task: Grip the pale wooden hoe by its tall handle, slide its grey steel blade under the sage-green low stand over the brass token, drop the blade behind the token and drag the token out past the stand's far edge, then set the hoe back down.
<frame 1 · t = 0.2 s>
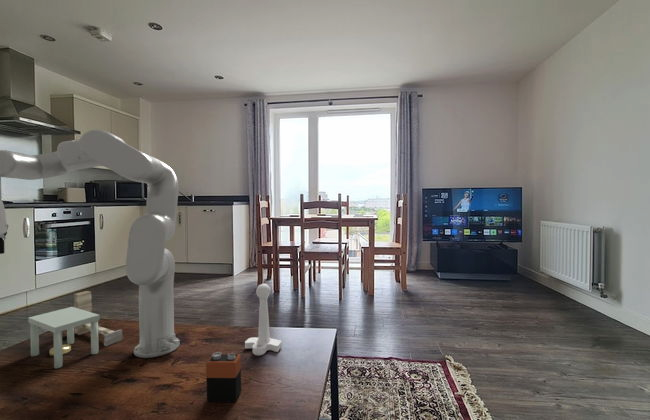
battery: (224, 397, 72), on the table
joystick: (262, 350, 94), on the table
token: (60, 352, 95), on the table
hoe: (83, 332, 110), on the table
stand: (65, 353, 93), on the table
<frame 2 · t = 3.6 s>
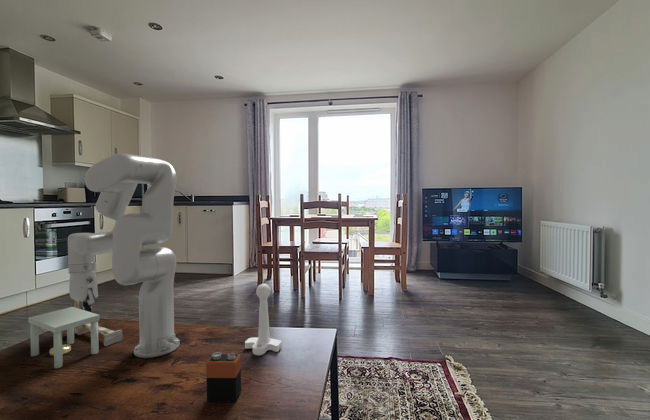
hand: (83, 318, 110), 5 cm above the table, tool pointing down, fingers closed on hoe, 3 cm apart
hoe: (83, 331, 110), on the table, touching gripper
everything else where it was.
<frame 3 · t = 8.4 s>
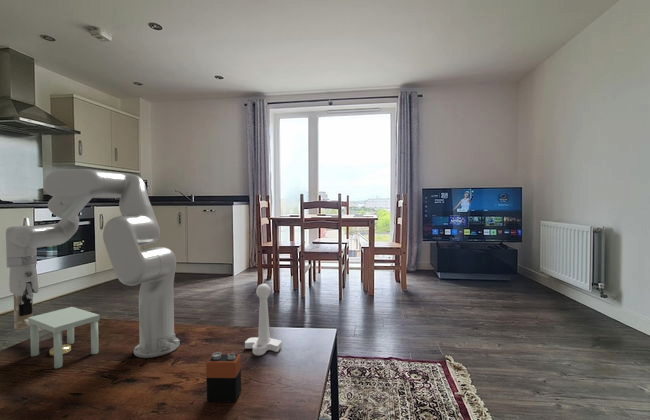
hand: (23, 313, 107), 8 cm above the table, tool pointing down, fingers closed on hoe, 3 cm apart
hoe: (24, 327, 107), point 3 cm above the table, touching gripper
everything else where it was.
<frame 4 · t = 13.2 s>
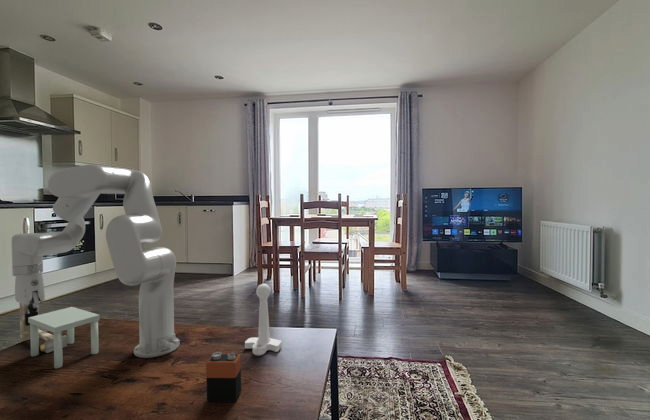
hand: (29, 322, 105), 5 cm above the table, tool pointing down, fingers closed on hoe, 3 cm apart
token: (51, 347, 98), on the table, touching hoe
hoe: (30, 337, 105), on the table, touching gripper, token
everything else where it was.
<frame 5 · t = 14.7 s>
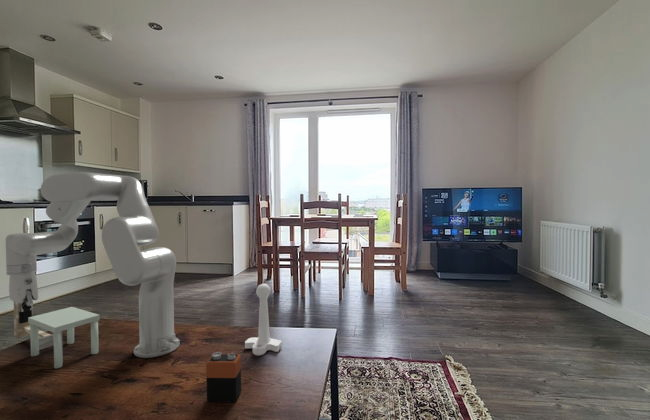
hand: (23, 320, 107), 5 cm above the table, tool pointing down, fingers closed on hoe, 3 cm apart
token: (44, 345, 100), on the table
hoe: (24, 335, 108), on the table, touching gripper
everything else where it was.
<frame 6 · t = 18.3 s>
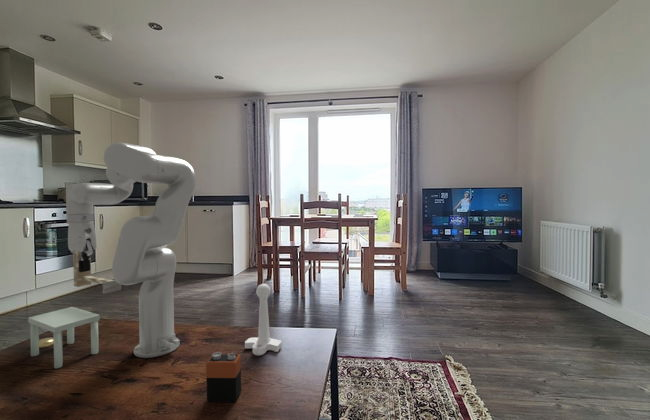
hand: (81, 270, 109), 22 cm above the table, tool pointing down, fingers closed on hoe, 3 cm apart
hoe: (82, 285, 109), point 17 cm above the table, touching gripper
everything else where it was.
when the fingers open (6 cm above the table, at t = 21.7 s): hoe stays where it is, on the table.
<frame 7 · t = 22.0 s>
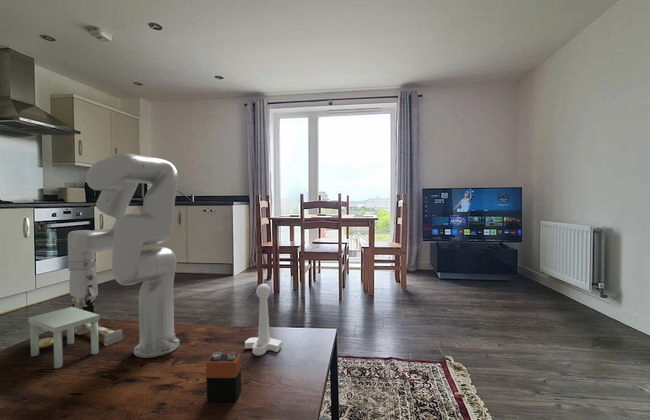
hand: (83, 314, 110), 6 cm above the table, tool pointing down, fingers open, 6 cm apart
hoe: (83, 331, 110), on the table
everything else where it was.
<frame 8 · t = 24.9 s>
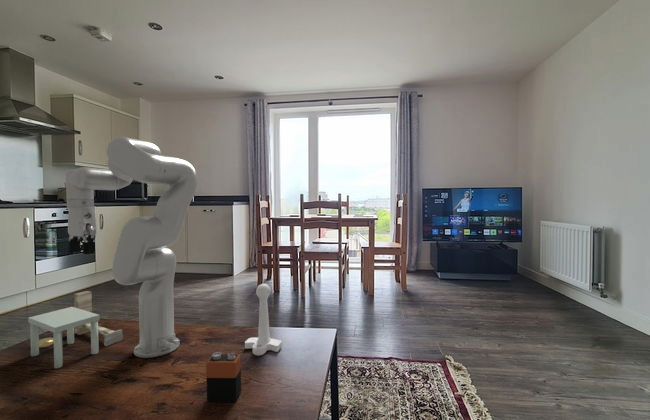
hand: (81, 252, 109), 28 cm above the table, tool pointing down, fingers open, 9 cm apart
nothing on the table moved.
at the end: token inside the target area (1.0 cm from its centre), on the table; token tilted 0°; the gripper is holding nothing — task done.
